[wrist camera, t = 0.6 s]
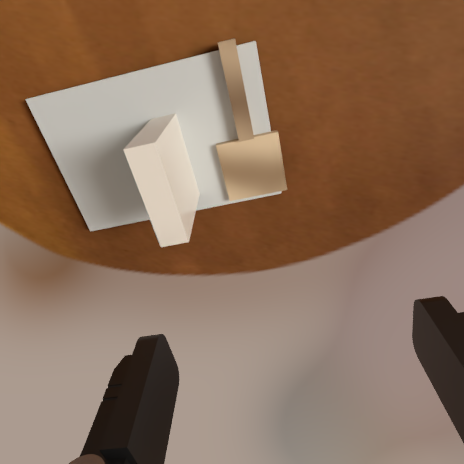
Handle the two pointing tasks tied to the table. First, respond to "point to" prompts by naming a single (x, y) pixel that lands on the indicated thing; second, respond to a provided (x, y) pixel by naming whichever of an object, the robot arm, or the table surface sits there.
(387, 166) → the table surface
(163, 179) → the tile
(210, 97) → the mat
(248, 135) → the turner
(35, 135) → the table surface
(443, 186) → the table surface
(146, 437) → the robot arm
